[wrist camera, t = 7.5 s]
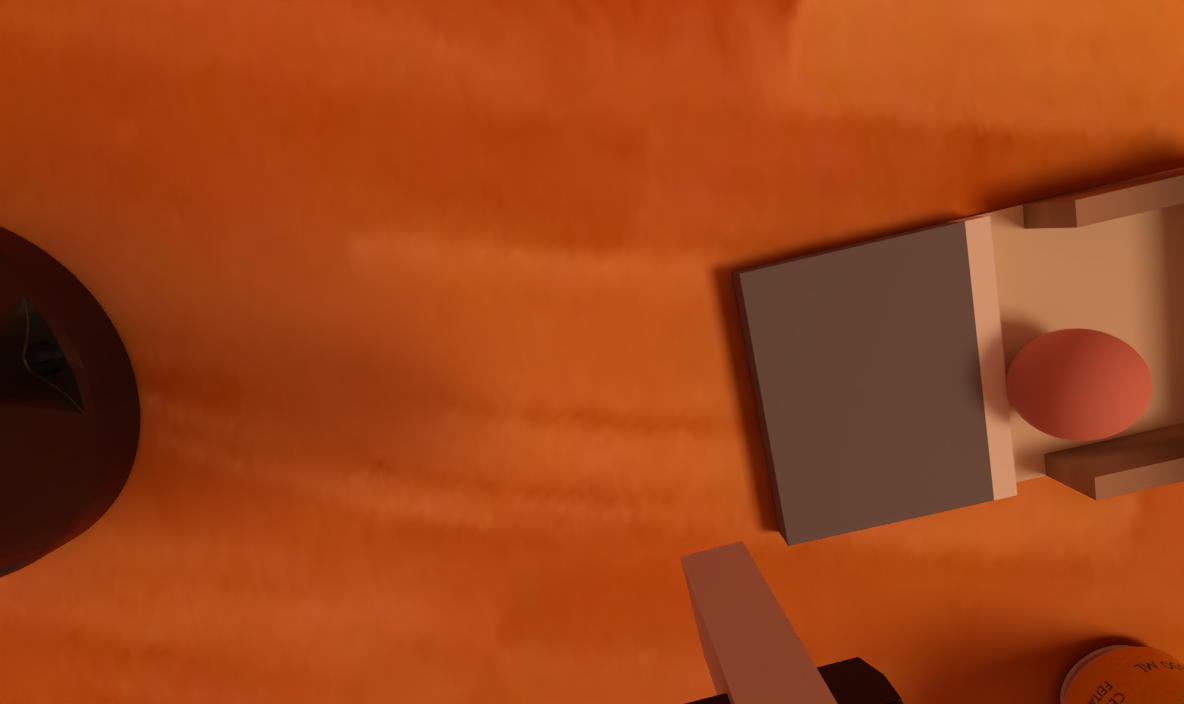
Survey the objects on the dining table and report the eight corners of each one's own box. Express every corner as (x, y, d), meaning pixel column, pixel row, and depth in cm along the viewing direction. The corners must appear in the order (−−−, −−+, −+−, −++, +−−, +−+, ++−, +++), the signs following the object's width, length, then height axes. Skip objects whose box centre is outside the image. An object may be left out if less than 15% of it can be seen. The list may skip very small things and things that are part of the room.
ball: (1115, 354, 25) (993, 373, 27) (1133, 294, 22) (993, 320, 24) (1160, 451, 23) (1023, 464, 25) (1187, 399, 19) (1027, 419, 21)
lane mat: (779, 532, 27) (788, 545, 26) (731, 271, 24) (739, 273, 23) (1219, 434, 26) (1249, 443, 25) (1212, 160, 24) (1245, 156, 23)
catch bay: (1042, 473, 26) (1118, 511, 23) (1018, 204, 24) (1098, 198, 20) (1220, 433, 26) (1326, 465, 23) (1213, 159, 24) (1330, 145, 20)
